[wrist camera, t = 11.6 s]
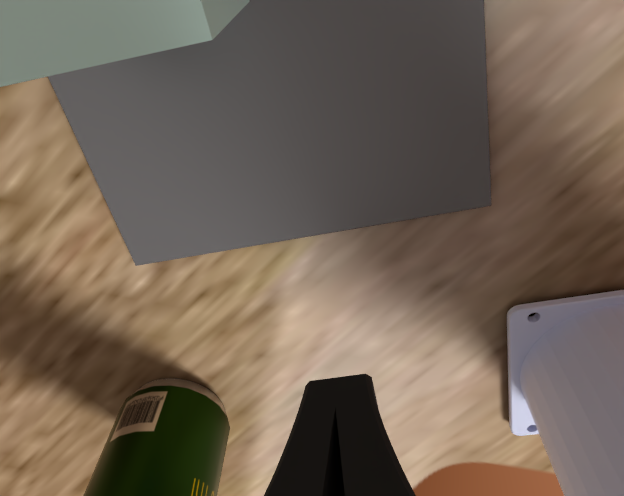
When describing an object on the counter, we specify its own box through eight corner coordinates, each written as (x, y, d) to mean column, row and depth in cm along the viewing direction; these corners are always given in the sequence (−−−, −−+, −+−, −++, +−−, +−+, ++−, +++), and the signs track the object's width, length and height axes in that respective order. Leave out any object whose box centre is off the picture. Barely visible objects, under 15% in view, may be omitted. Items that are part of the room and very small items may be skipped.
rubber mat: (467, -318, 12) (471, -325, 12) (488, 200, 20) (491, 205, 19) (-55, -161, 14) (-64, -164, 14) (138, 260, 22) (135, 265, 21)
